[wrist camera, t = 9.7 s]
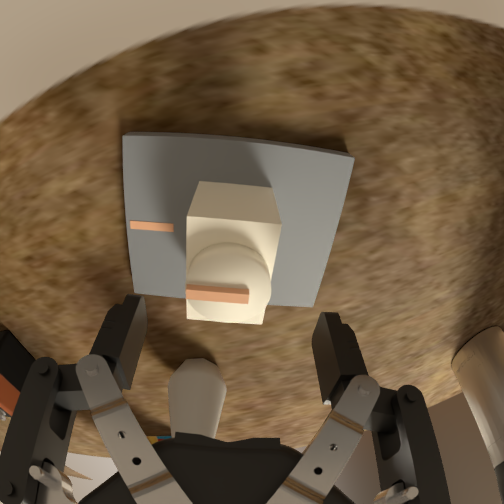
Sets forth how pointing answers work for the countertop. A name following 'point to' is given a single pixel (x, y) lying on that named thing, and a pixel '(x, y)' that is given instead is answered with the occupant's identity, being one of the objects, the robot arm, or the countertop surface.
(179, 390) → the salt shaker
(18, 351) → the battery
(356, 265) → the countertop surface
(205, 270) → the knob
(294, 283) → the plate
